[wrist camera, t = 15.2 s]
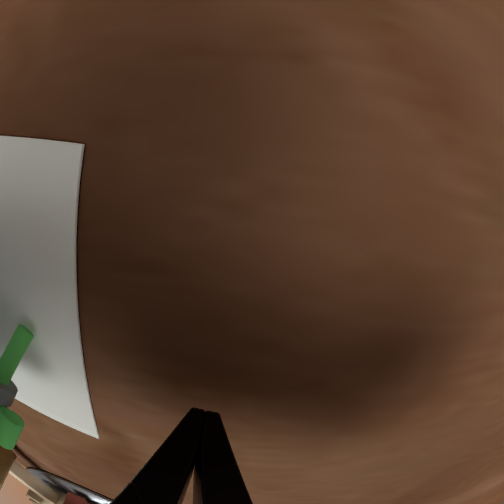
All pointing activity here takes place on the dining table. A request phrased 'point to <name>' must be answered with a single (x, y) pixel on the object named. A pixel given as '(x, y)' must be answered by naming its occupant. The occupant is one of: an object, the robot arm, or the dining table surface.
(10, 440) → the gear
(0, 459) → the index wheel
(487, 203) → the dining table surface
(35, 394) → the mat
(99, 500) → the wheel base
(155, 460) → the robot arm
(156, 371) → the dining table surface
